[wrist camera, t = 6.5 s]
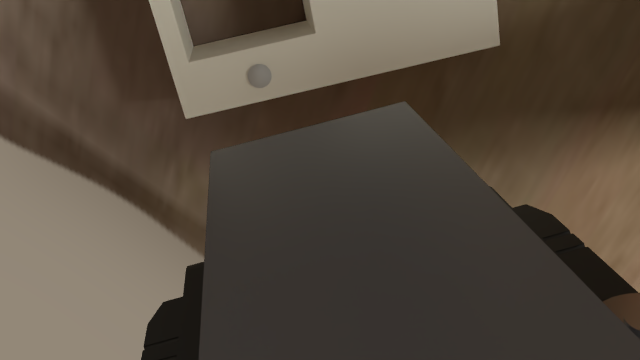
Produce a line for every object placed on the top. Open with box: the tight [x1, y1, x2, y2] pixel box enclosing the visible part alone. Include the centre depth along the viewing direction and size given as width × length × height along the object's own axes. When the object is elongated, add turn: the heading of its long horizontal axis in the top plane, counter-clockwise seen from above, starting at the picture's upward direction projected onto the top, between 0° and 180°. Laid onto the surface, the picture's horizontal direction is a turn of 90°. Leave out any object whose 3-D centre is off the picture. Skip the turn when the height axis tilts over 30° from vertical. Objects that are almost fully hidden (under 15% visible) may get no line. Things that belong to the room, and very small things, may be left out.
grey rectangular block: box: [199, 101, 640, 360], centre depth 9 cm, size 4×4×9 cm
